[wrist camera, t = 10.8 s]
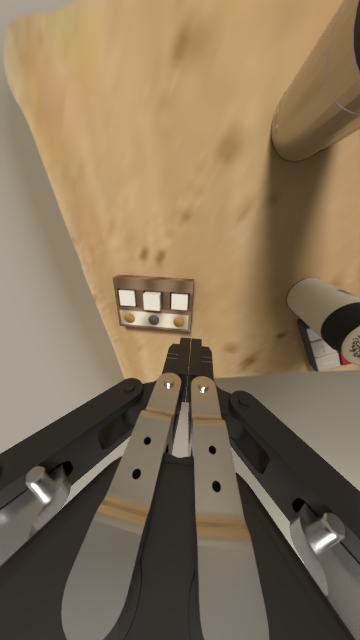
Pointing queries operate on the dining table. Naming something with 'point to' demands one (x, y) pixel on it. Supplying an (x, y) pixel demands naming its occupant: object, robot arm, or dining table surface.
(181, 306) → the key
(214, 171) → the dining table surface
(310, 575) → the robot arm
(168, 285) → the button board
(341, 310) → the travel mug
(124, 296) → the key
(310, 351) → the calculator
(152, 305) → the key middle
